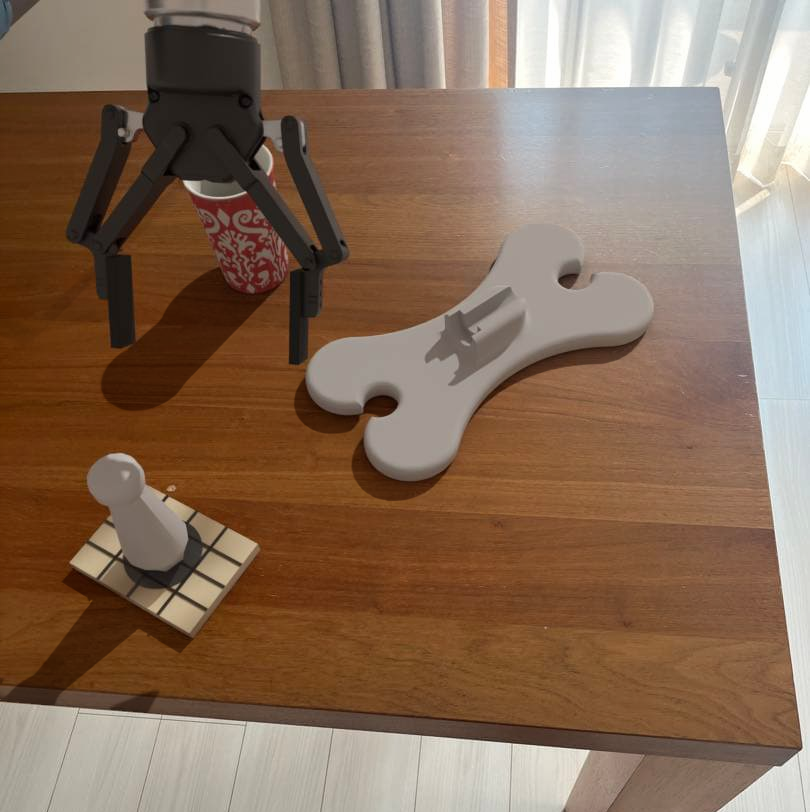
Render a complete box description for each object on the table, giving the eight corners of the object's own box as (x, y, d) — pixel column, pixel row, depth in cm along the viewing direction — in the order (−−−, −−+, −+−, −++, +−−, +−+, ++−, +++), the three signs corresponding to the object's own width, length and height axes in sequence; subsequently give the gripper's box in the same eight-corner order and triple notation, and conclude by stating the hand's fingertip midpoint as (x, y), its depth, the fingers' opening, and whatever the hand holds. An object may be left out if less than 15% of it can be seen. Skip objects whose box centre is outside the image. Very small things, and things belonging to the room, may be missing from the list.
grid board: (74, 568, 81) (68, 562, 79) (143, 487, 84) (139, 480, 83) (193, 639, 76) (188, 632, 75) (260, 550, 80) (257, 543, 79)
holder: (670, 318, 90) (680, 282, 85) (402, 501, 81) (398, 470, 77) (545, 221, 98) (548, 183, 94) (290, 378, 90) (280, 344, 85)
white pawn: (183, 585, 77) (132, 507, 66) (122, 576, 78) (61, 498, 67) (202, 528, 80) (156, 444, 69) (144, 520, 81) (88, 436, 70)
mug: (292, 301, 95) (265, 197, 83) (210, 301, 96) (172, 198, 84) (307, 219, 101) (284, 112, 89) (230, 220, 102) (198, 114, 90)
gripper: (-8, 10, 56) (26, 347, 64) (380, 30, 53) (364, 378, 62) (52, 29, 63) (76, 331, 71) (398, 47, 60) (382, 358, 68)
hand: (210, 353), depth 66 cm, fingers open, 13 cm apart
